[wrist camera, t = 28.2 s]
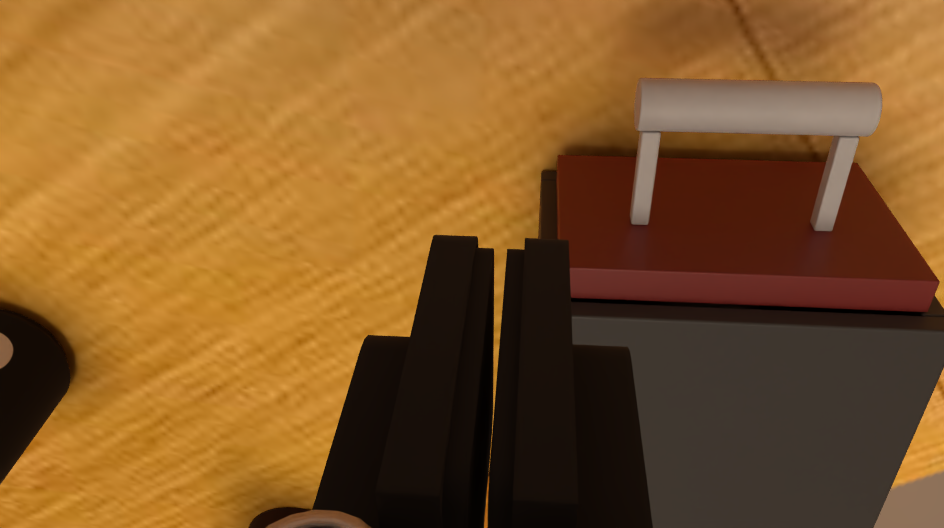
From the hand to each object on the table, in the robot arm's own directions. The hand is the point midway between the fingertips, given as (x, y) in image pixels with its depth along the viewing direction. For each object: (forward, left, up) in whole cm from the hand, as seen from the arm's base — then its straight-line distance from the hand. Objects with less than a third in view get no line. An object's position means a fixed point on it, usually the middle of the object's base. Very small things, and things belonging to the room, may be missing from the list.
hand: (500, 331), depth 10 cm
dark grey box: (+16, +7, -21) cm, 27 cm away
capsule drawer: (+12, +7, -20) cm, 24 cm away
